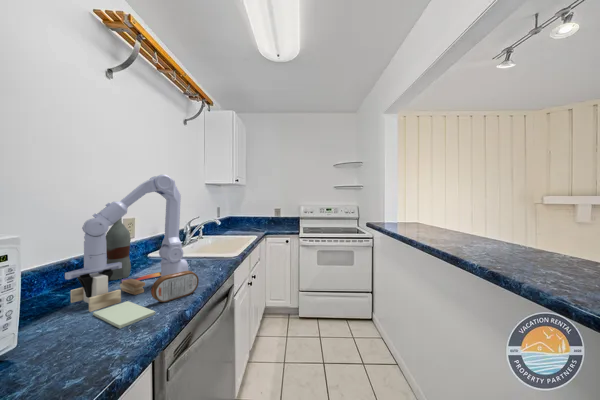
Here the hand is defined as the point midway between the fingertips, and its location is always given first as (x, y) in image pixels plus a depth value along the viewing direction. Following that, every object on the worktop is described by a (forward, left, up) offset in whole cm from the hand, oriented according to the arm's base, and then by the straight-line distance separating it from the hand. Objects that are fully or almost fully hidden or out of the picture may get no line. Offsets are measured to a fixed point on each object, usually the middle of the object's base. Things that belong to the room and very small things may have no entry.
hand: (95, 294), depth 78 cm
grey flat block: (0, 0, -2) cm, 2 cm away
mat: (0, +19, -2) cm, 19 cm away
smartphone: (-21, -13, -3) cm, 25 cm away
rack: (0, 0, -2) cm, 2 cm away
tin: (-15, +21, -3) cm, 26 cm away
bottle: (-17, -25, -3) cm, 30 cm away
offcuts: (-11, 0, -2) cm, 11 cm away
